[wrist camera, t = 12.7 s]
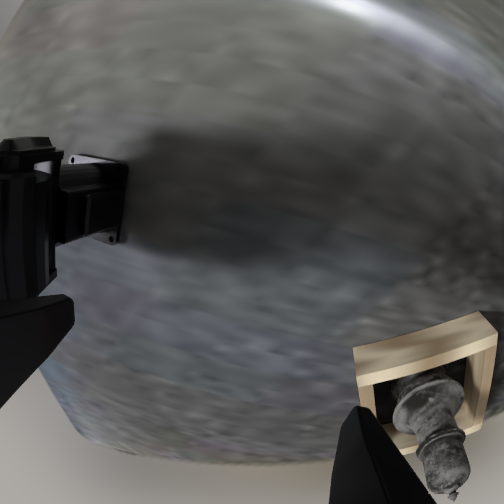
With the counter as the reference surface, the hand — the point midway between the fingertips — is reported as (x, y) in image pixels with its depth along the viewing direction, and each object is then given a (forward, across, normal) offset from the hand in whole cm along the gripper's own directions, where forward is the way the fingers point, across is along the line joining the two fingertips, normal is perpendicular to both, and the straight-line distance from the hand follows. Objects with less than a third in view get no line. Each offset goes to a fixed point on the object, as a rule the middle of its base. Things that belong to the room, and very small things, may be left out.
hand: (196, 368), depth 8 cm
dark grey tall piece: (+13, -15, +7) cm, 21 cm away
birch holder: (+13, -15, +7) cm, 21 cm away
